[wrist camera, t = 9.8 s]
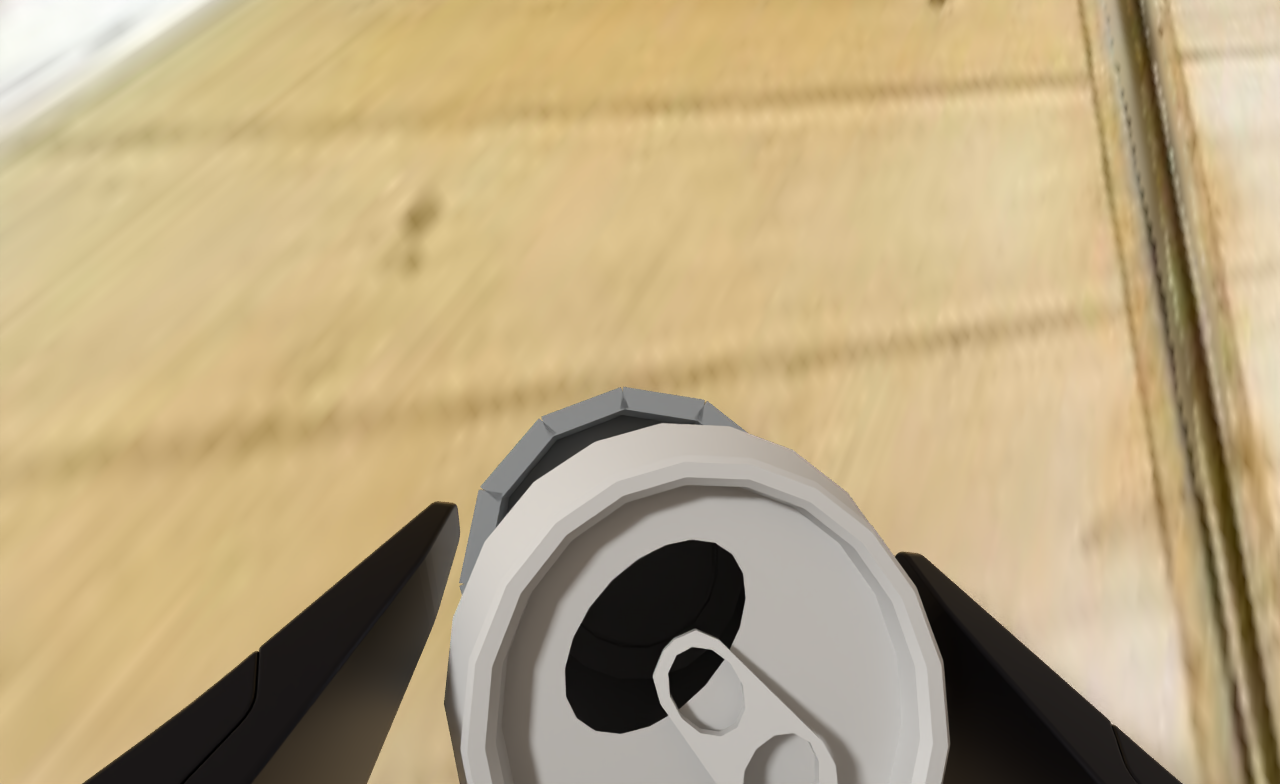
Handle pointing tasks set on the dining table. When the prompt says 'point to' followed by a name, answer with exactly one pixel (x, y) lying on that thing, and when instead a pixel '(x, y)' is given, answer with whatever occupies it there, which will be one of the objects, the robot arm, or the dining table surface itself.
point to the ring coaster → (574, 448)
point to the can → (692, 627)
